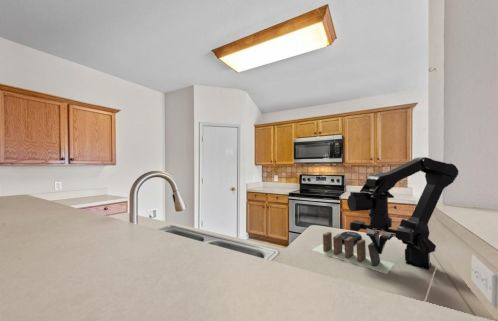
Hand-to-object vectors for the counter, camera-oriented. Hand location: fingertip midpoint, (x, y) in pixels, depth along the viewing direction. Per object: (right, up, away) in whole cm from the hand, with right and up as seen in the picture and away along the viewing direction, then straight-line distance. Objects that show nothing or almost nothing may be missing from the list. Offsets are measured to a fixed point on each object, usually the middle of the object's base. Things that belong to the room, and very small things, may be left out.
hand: (380, 253), depth 75 cm
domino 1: (-13, -5, +15) cm, 20 cm away
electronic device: (+2, -6, +26) cm, 27 cm away
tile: (-1, -4, +1) cm, 4 cm away
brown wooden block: (-4, -4, +5) cm, 8 cm away
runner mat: (-7, -5, +8) cm, 12 cm away
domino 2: (-10, -5, +11) cm, 16 cm away
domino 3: (-7, -5, +8) cm, 12 cm away
